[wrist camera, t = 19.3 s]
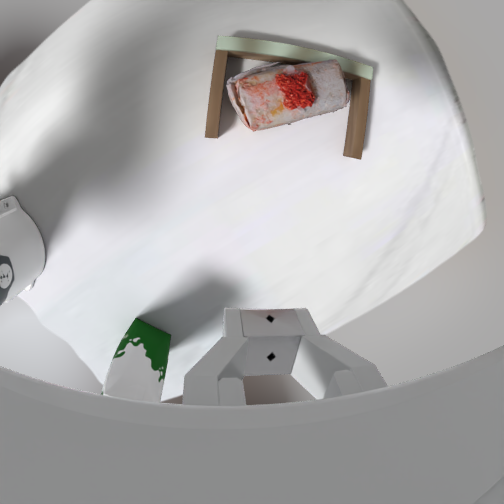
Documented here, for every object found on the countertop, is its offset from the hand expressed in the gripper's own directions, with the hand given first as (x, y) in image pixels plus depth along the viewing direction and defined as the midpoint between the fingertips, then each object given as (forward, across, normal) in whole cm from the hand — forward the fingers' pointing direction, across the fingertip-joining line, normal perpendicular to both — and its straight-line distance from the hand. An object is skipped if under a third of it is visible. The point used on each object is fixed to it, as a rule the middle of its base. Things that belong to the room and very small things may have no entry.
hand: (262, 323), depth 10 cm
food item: (+30, -6, -13) cm, 33 cm away
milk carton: (+31, +14, +29) cm, 44 cm away
